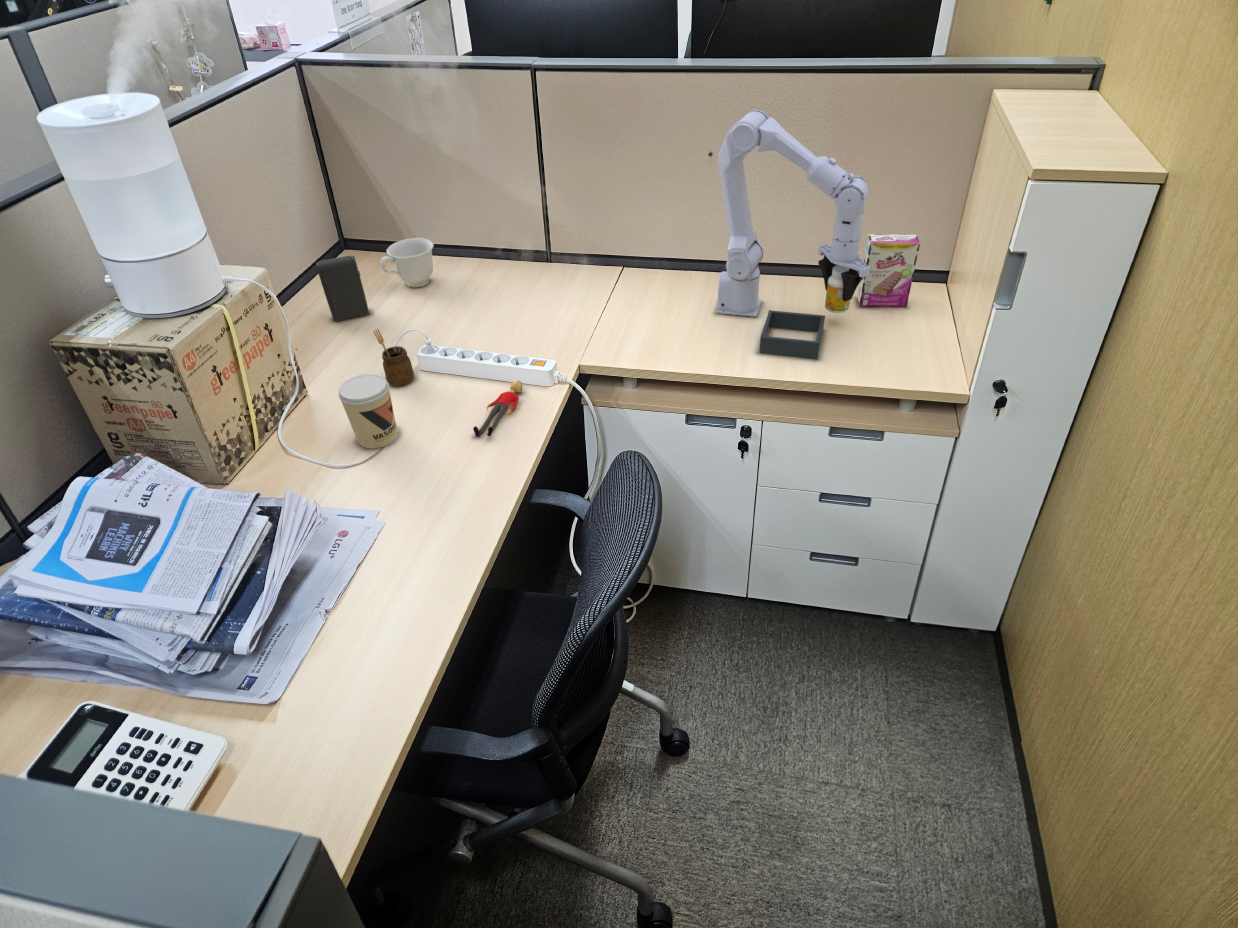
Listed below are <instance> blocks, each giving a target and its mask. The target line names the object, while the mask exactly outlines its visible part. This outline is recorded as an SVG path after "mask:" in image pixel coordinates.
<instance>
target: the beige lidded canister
mask: <svg viewBox="0 0 1238 928" xmlns="http://www.w3.org/2000/svg"><path fill="white" fill-rule="evenodd" d="M338 398H339V400H340V402H341V404H342V407H343V409H344V411H345V414H346V416H347V419H348V421H349V423H350V426H351V429H352V431H353V433H354V435H355V438H356V440H357V442H358V444H359V445H360V446H361V447H363V448H365V449H380V448H383V447H386V446H388V445H390V444H391V443H393V442H394V441H395V440H396V439H397V436H398V428H397V423H396V417H395V411H394V406H393V402H392V397H391V392H390V384H389V383H388V381H387V379H386V377H383V376H382V375H379V374H376V373H364V374H359V375H355V376H352V377H350V378H348V379H346V380H345V381H344V382H343V383H341V385H340V386H339V390H338Z"/></svg>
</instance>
